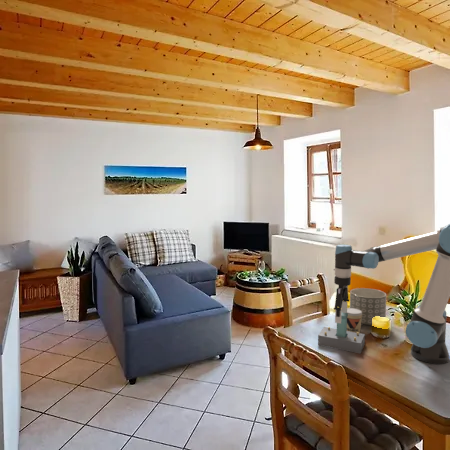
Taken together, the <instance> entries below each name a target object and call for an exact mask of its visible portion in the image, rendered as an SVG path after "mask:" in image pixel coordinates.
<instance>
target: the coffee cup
mask: <svg viewBox="0 0 450 450" xmlns="http://www.w3.org/2000/svg"><path fill="white" fill-rule="evenodd" d="M347 313H348V317H347V331H350V332H355V333H357V332H359V333H361V327H362V325H361V319H362V311H361V310H359V309H355V308H350V307H347Z"/></svg>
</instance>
